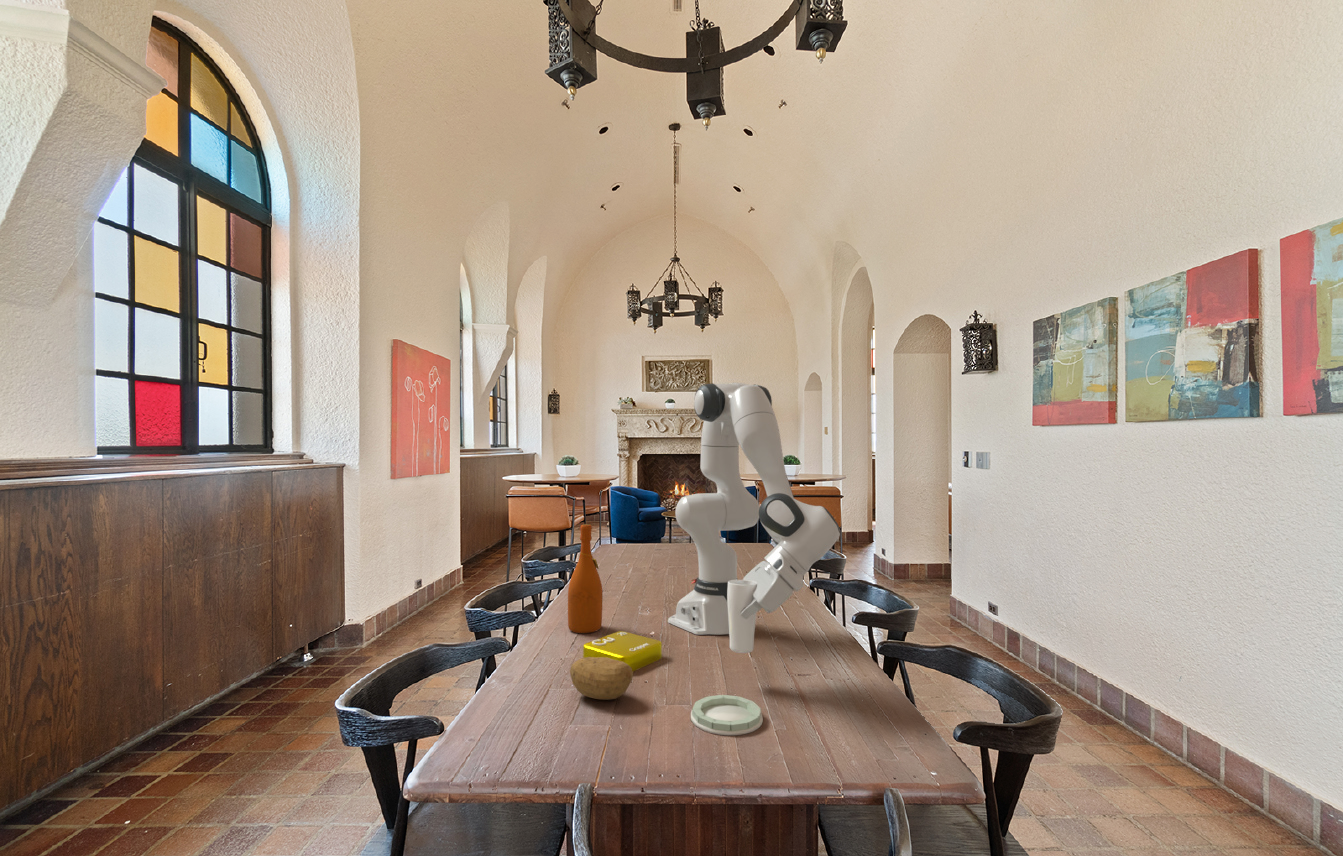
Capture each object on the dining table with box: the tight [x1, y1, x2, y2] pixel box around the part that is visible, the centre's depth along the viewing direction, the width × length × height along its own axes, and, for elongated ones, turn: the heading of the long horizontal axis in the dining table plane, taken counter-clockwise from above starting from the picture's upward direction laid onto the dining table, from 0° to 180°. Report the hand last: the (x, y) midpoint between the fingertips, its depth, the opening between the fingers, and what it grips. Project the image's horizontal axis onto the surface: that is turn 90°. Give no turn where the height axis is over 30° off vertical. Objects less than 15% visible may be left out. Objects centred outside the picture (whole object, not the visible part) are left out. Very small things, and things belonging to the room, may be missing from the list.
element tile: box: [582, 630, 663, 673], centre depth 151 cm, size 15×15×5 cm
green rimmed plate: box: [690, 694, 764, 737], centre depth 119 cm, size 14×14×2 cm
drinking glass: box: [727, 579, 757, 654], centre depth 137 cm, size 7×7×15 cm
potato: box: [569, 657, 634, 701], centre depth 128 cm, size 10×14×8 cm
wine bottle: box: [567, 523, 604, 634], centre depth 175 cm, size 10×10×30 cm
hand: (739, 610), depth 137 cm, fingers closed on drinking glass, 6 cm apart
